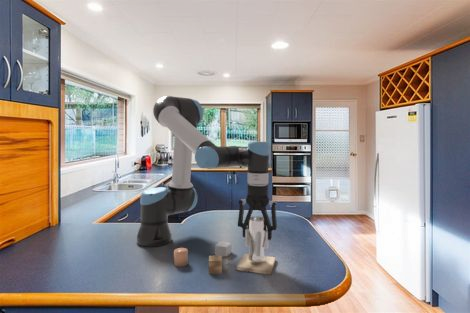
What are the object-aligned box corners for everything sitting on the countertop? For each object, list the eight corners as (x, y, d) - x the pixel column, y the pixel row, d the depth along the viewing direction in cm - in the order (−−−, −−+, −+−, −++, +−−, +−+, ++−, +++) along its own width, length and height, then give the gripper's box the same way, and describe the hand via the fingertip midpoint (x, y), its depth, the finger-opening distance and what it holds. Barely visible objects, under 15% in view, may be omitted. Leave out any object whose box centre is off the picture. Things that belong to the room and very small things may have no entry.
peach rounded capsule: (171, 265, 104) (171, 252, 104) (177, 260, 109) (177, 247, 109) (184, 267, 103) (184, 253, 103) (189, 261, 108) (189, 248, 107)
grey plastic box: (214, 255, 114) (215, 245, 114) (220, 250, 119) (220, 241, 119) (226, 257, 112) (226, 247, 112) (231, 252, 117) (231, 243, 117)
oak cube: (208, 273, 98) (208, 260, 98) (209, 268, 103) (209, 255, 103) (221, 273, 99) (221, 260, 98) (221, 267, 103) (221, 255, 103)
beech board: (236, 269, 101) (236, 266, 101) (244, 256, 113) (244, 253, 113) (270, 274, 98) (270, 271, 98) (275, 260, 109) (275, 257, 109)
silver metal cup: (250, 264, 101) (251, 221, 100) (244, 256, 108) (245, 216, 107) (269, 261, 103) (269, 220, 102) (262, 254, 109) (262, 215, 109)
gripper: (228, 184, 103) (228, 247, 104) (284, 187, 97) (282, 254, 99) (234, 181, 110) (233, 240, 111) (286, 184, 105) (285, 246, 106)
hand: (256, 246), depth 105 cm, fingers closed on silver metal cup, 7 cm apart
